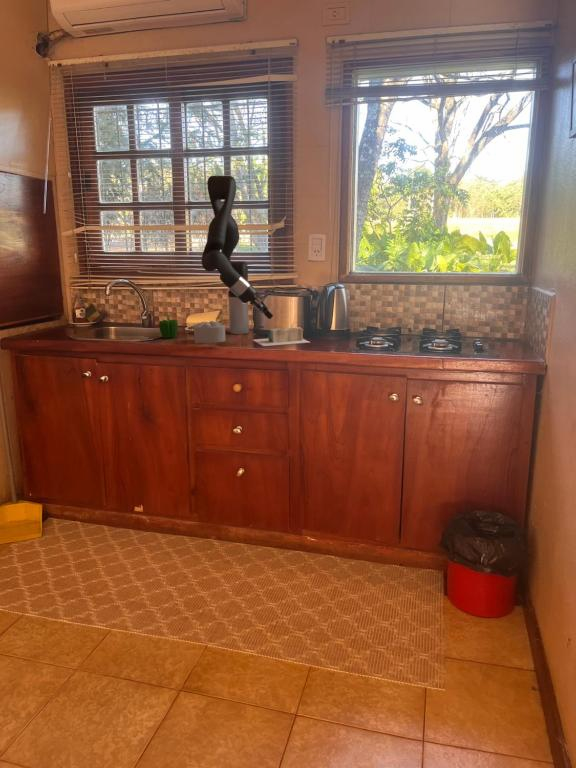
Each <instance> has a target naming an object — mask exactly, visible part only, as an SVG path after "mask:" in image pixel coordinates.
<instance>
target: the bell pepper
mask: <svg viewBox="0 0 576 768" xmlns="http://www.w3.org/2000/svg"><path fill="white" fill-rule="evenodd" d="M166 318H167V319H163V320H160V321H159V322H158V326H159V327H158V328H159V331H160V334H161V337H162V338H163V339H174V338H176V337H177V335H178V330H179V322H178V320H176V319H170V315H166Z"/></svg>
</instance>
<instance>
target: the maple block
mask: <svg viewBox="0 0 576 768" xmlns="http://www.w3.org/2000/svg"><path fill="white" fill-rule="evenodd" d="M303 331H304V329H303V328H301V327H298V326H297V327H282V328H270V329H267V333H268V334H267V336H268V337H267V339H268V341H270V342H272V343H275V342H288V341H301V340H303V339H304V336H303V334H304V332H303Z"/></svg>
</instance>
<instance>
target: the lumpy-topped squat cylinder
mask: <svg viewBox="0 0 576 768" xmlns="http://www.w3.org/2000/svg"><path fill="white" fill-rule="evenodd" d="M193 336H194V337H193V338H194V343H195V344H198V343H206V344H205V345H213V344H215V345H216V343H222V342H225V341H226V326H225V325H224V324H222V323H221V322H219V321H214V320H211V321H201V322H198V323H197V324H196V325H193Z"/></svg>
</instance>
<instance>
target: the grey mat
mask: <svg viewBox="0 0 576 768" xmlns="http://www.w3.org/2000/svg"><path fill="white" fill-rule="evenodd" d="M252 341H254V342H256V343H257V344H259V345H260V346H263V347H268V346H280V345H281V346H283V345H295V344H306V343H308V344H309V343H310V341H308V340H306V339H305V338H303V340H301V341H288V342H275V343H272V342H270V341H268V338H258V339H252Z"/></svg>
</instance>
